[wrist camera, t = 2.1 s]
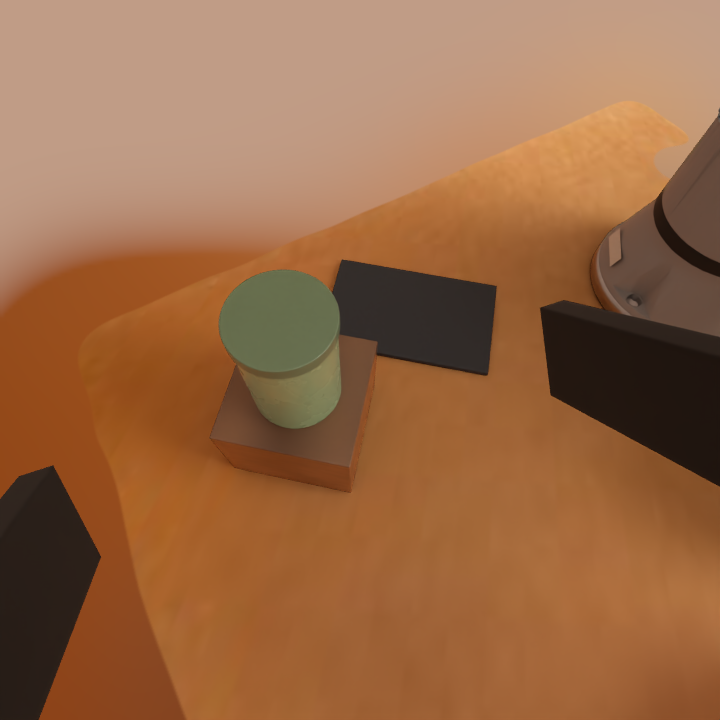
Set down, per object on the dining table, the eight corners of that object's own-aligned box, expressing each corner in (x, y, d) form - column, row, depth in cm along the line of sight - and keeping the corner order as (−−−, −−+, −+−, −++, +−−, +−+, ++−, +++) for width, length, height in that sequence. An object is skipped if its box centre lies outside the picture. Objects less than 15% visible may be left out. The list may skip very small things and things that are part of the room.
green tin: (352, 356, 37) (351, 279, 28) (331, 439, 34) (323, 382, 25) (266, 339, 37) (240, 260, 29) (239, 420, 34) (200, 358, 26)
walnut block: (374, 384, 44) (377, 341, 37) (350, 492, 40) (349, 467, 33) (269, 363, 45) (252, 317, 38) (234, 467, 41) (208, 438, 34)
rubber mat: (495, 288, 49) (496, 285, 49) (486, 375, 45) (488, 373, 44) (341, 262, 51) (341, 259, 50) (318, 344, 46) (318, 341, 46)
